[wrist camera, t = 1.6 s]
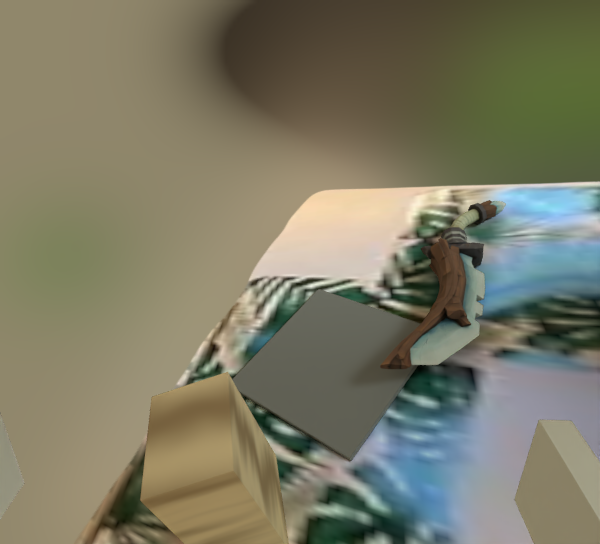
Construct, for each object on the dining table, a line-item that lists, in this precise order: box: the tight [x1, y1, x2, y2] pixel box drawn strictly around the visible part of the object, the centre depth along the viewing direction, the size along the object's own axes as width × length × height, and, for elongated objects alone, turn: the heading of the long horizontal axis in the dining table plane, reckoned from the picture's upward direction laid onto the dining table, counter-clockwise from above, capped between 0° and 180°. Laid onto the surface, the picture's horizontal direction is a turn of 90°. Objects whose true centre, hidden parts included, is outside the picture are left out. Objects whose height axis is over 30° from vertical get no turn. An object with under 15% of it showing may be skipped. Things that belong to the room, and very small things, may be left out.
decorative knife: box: [380, 200, 506, 369], centre depth 51 cm, size 4×9×30 cm
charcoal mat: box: [232, 289, 420, 461], centre depth 48 cm, size 16×16×1 cm
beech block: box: [140, 372, 288, 544], centre depth 35 cm, size 8×6×12 cm
